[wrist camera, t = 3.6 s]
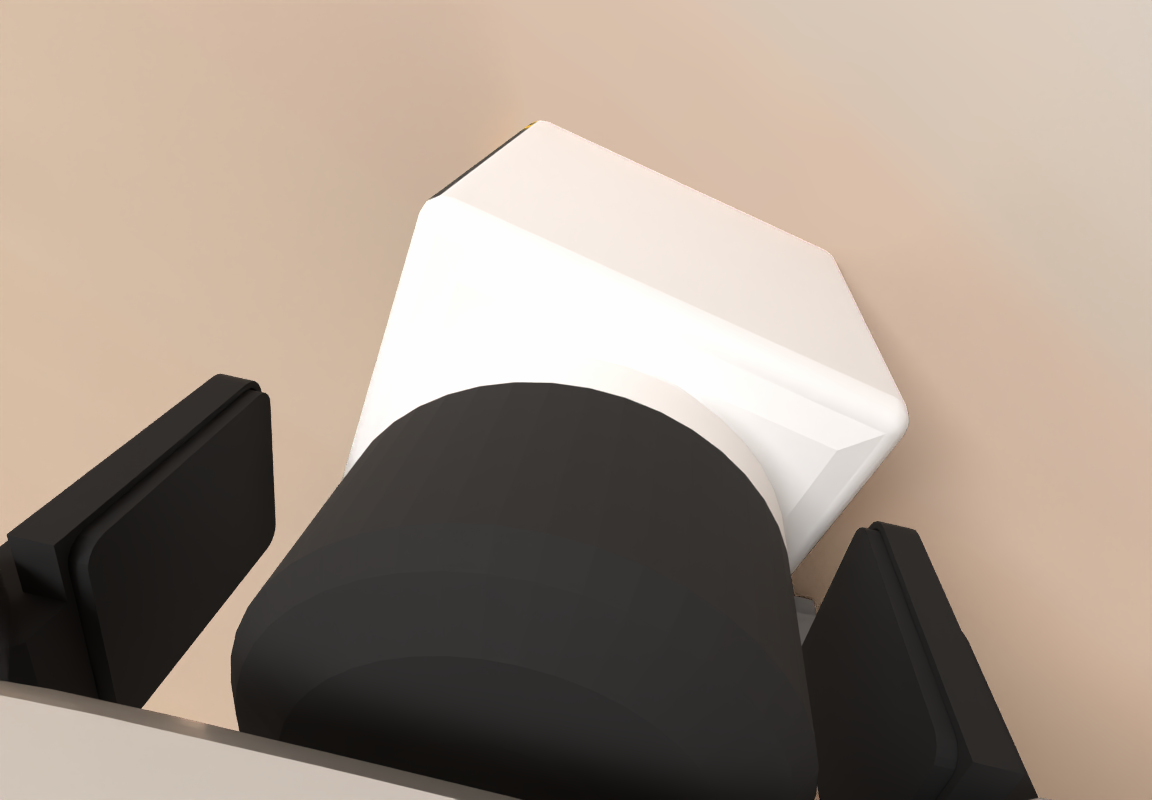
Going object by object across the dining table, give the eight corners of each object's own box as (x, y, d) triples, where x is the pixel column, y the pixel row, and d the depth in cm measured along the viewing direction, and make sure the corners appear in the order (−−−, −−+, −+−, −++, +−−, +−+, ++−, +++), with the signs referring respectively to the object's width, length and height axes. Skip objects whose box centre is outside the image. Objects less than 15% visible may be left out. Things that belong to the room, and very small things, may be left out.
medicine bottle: (535, 111, 15) (158, 370, 5) (839, 252, 15) (1111, 774, 5) (440, 381, 19) (110, 863, 8) (688, 488, 19) (670, 1073, 9)
